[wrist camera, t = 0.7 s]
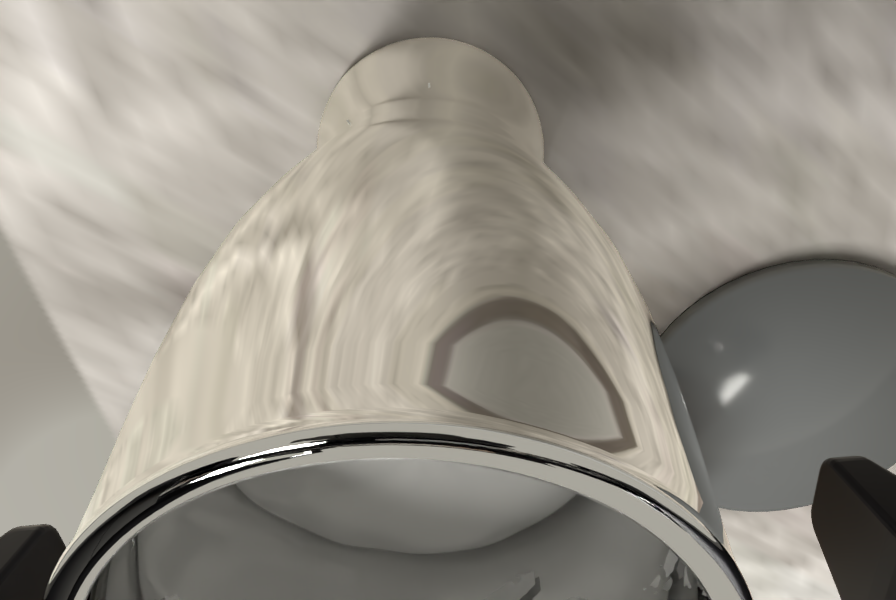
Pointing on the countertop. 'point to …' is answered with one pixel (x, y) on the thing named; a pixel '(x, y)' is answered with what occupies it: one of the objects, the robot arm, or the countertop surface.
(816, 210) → the countertop surface
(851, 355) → the slate coaster
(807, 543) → the countertop surface
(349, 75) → the beer glass
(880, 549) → the robot arm
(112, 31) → the countertop surface
